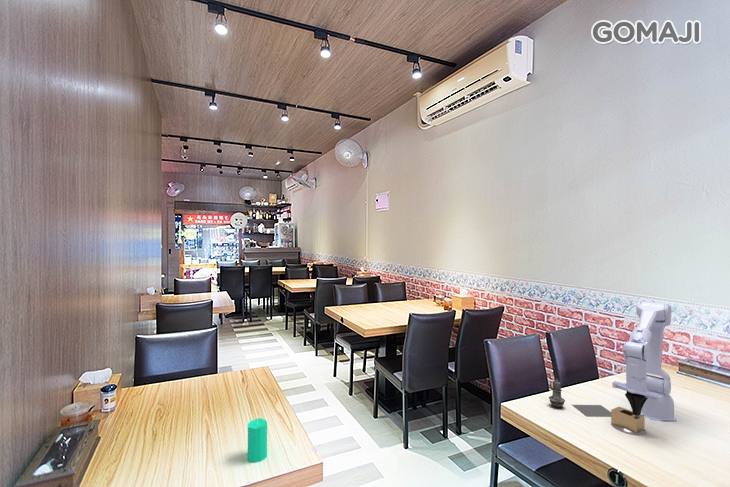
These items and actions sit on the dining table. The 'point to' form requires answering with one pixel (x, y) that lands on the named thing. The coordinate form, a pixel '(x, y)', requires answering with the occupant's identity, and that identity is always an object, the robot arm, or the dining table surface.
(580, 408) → the mat
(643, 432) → the hub
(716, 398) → the dining table surface
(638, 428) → the wooden cubby box
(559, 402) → the stepped metal shaft
